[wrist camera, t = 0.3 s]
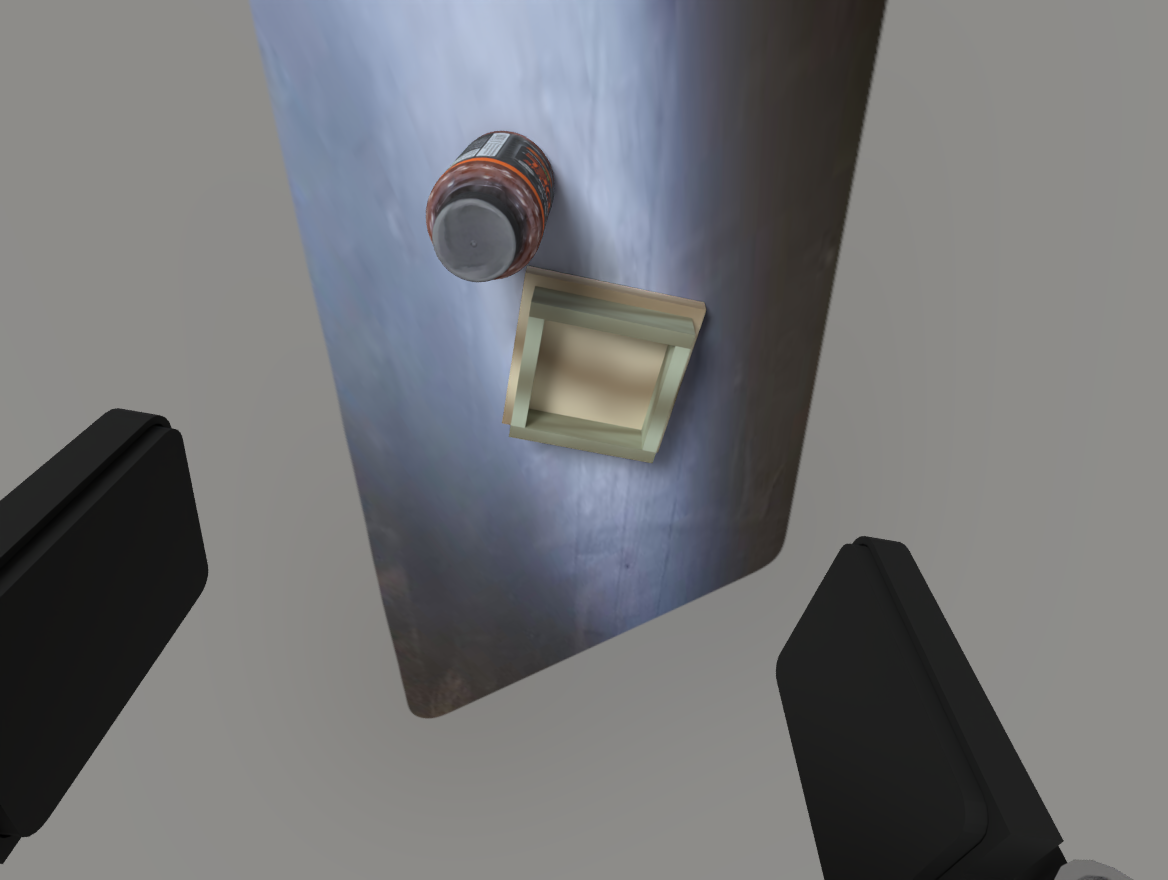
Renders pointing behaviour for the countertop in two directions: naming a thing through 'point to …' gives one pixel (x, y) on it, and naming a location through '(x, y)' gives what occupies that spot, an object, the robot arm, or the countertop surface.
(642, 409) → the socket board
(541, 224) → the supplement bottle
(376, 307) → the countertop surface
